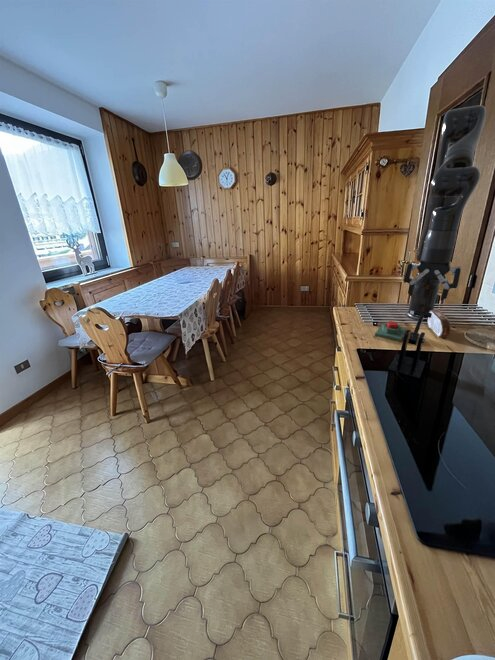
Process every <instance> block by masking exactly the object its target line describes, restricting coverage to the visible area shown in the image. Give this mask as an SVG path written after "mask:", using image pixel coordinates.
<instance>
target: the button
mask: <svg viewBox="0 0 495 660" xmlns="http://www.w3.org/2000/svg"><path fill="white" fill-rule="evenodd" d="M386 323H387V327H388V328H392V329H396V328H397V326H398V325H399V323H398V322H396V321H391V320H390V321H387V322H386Z"/></svg>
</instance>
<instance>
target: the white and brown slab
mask: <svg viewBox="0 0 495 660" xmlns="http://www.w3.org/2000/svg"><path fill="white" fill-rule="evenodd" d="M429 313H432V316H431V318H428V320H426V321H427V327H428V328H430V329H431V330H432V331H433V332H434V333H435V334H436V336H437V338H439V339H447V338H448V337H449V335H450V332H451V323H450V320H449V318H448V317H447V316H446V315H445V314H444V313H443V311H441V310H440V309H439V308H438V309H433V310H430V311H429Z"/></svg>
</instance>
